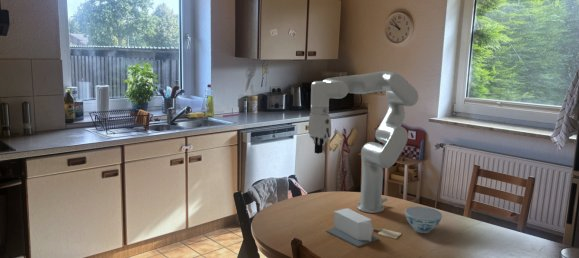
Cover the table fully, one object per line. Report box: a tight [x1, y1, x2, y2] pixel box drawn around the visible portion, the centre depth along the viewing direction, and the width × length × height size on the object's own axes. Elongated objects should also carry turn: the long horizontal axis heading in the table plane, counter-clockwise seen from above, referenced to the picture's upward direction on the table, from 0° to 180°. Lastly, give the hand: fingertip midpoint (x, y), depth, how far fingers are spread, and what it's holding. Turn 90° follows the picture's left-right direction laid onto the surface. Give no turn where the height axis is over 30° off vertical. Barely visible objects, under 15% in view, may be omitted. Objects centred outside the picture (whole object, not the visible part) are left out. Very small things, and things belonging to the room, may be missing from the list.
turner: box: [373, 227, 402, 240], centre depth 205 cm, size 6×17×1 cm, turn 58°
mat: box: [326, 227, 380, 248], centre depth 200 cm, size 12×18×1 cm, turn 38°
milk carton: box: [333, 207, 375, 241], centre depth 201 cm, size 7×7×19 cm
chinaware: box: [404, 205, 443, 234], centre depth 207 cm, size 15×15×8 cm
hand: (318, 152), depth 211 cm, fingers closed
